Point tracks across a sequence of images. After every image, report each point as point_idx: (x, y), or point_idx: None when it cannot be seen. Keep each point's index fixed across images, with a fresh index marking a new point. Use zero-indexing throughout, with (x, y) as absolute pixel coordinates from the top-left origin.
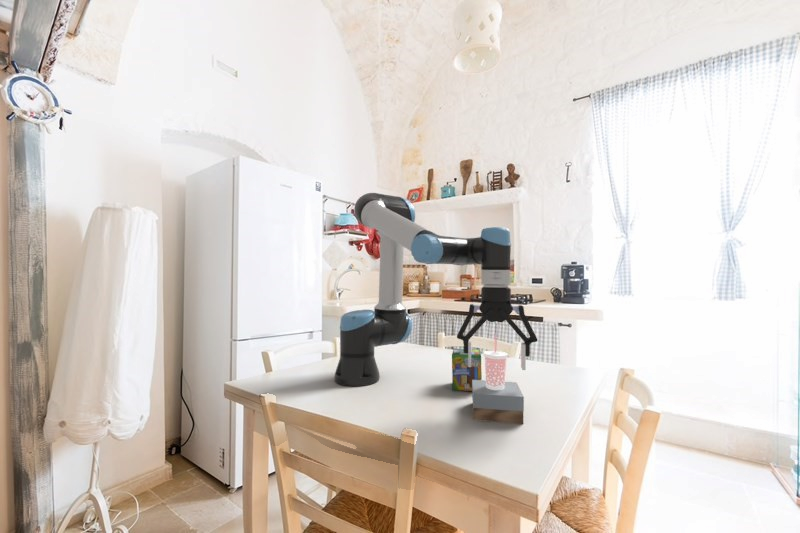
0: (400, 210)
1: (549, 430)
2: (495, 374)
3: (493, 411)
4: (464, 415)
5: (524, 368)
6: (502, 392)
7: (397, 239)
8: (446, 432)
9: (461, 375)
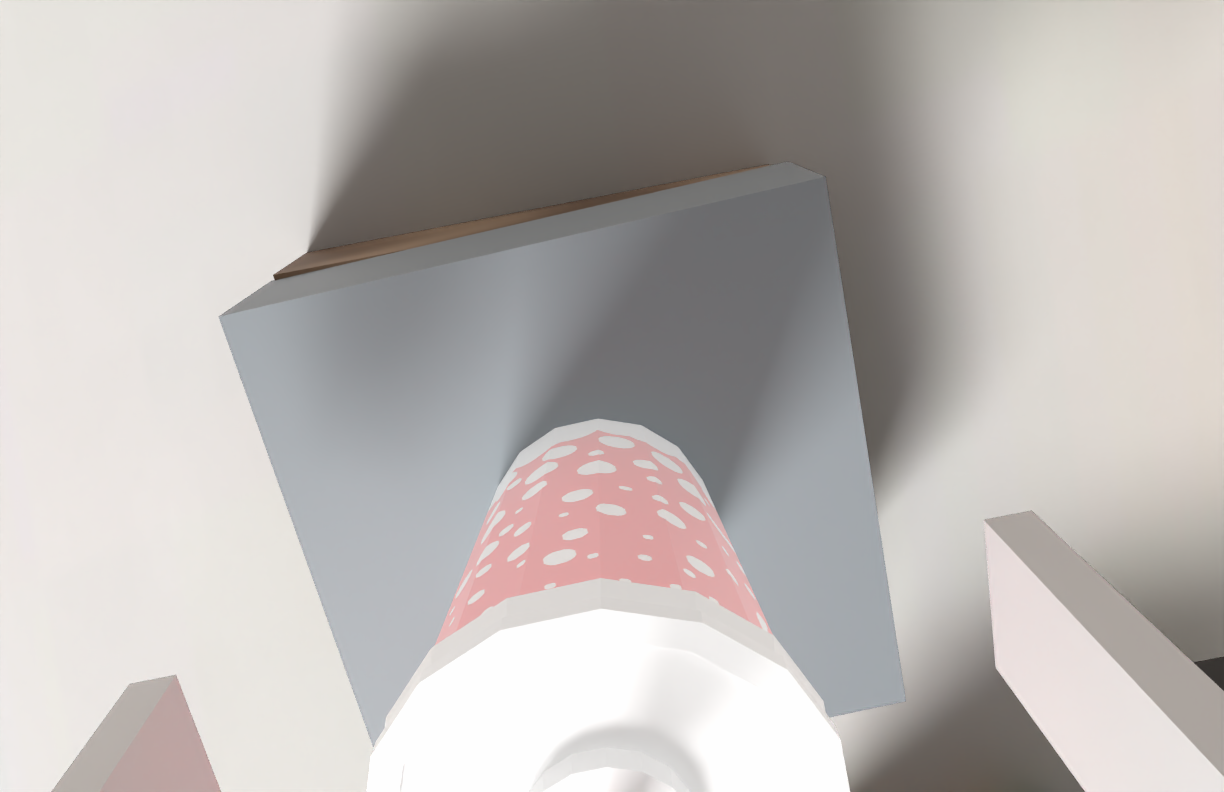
0: None
1: (65, 199)
2: (578, 489)
3: None
4: (859, 234)
5: (134, 696)
6: (486, 374)
7: None
8: None
9: None
